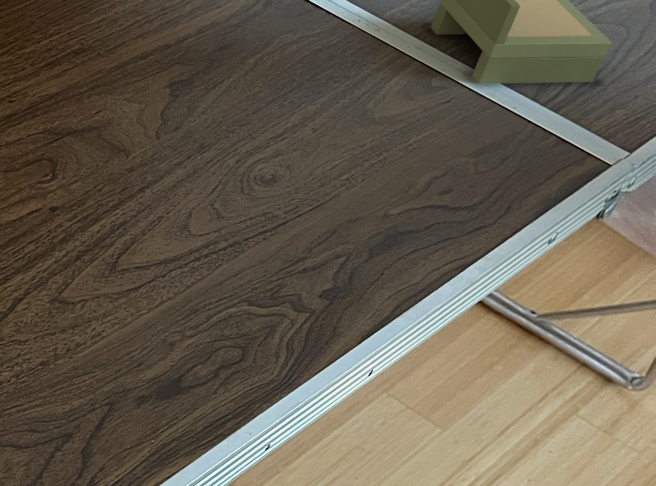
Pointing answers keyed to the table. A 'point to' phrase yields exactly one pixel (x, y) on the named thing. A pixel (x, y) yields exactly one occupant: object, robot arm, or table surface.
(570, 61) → the green square tray
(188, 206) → the table surface
